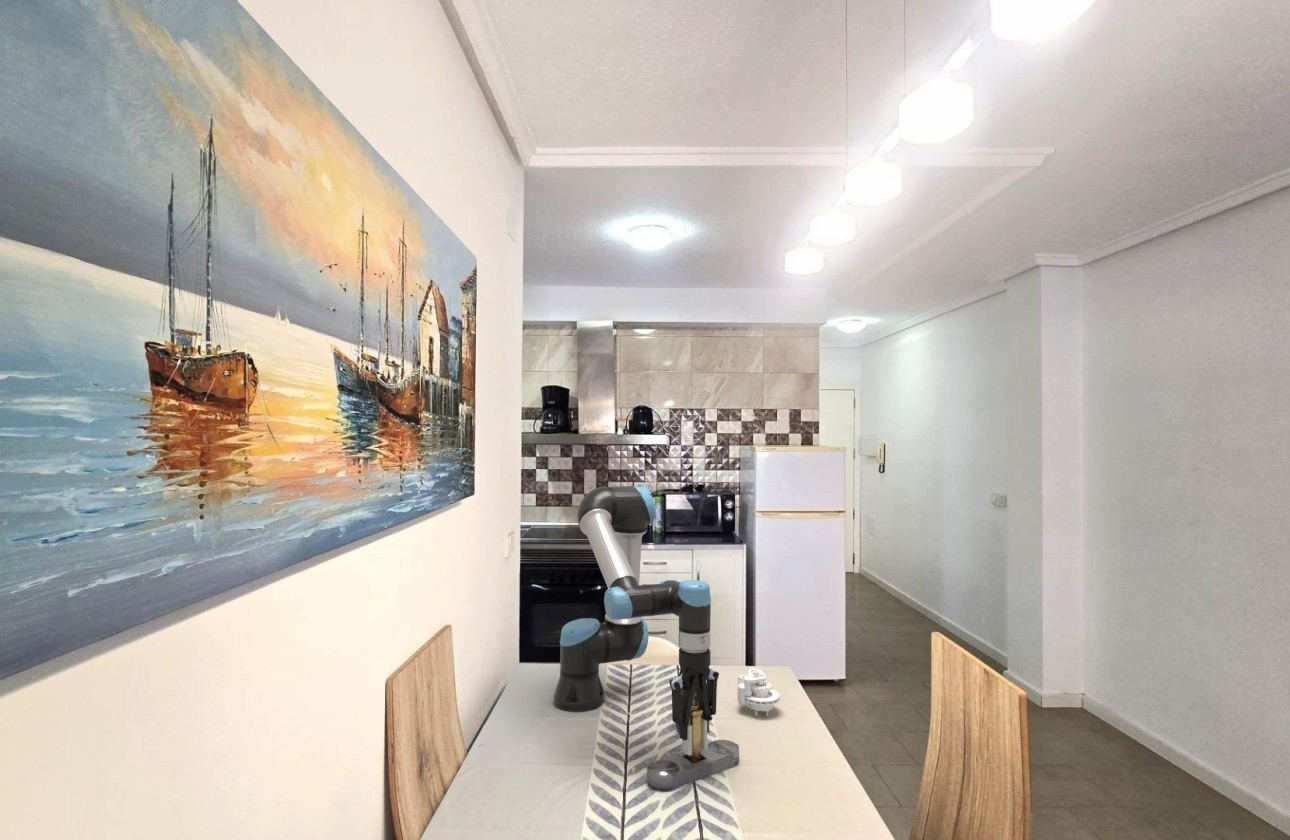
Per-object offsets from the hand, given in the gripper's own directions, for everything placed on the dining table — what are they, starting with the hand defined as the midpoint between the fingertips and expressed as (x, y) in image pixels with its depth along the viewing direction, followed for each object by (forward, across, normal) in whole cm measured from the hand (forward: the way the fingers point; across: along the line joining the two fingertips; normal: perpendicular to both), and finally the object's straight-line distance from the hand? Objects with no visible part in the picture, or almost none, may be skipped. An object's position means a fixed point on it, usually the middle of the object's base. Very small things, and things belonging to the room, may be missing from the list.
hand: (694, 749), depth 138 cm
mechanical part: (+5, +36, +15) cm, 39 cm away
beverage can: (+5, +12, +17) cm, 21 cm away
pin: (+5, 0, 0) cm, 5 cm away
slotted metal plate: (+5, 0, 0) cm, 5 cm away
